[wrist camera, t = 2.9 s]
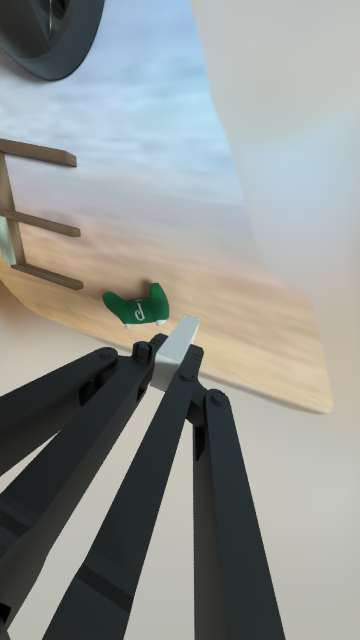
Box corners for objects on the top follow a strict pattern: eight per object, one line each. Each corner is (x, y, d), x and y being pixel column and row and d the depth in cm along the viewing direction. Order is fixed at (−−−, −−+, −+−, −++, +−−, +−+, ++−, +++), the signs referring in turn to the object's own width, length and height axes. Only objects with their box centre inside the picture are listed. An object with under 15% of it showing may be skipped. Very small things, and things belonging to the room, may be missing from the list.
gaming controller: (114, 288, 27) (127, 322, 29) (98, 295, 23) (113, 333, 25) (167, 277, 23) (177, 317, 26) (156, 283, 20) (169, 328, 22)
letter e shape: (-8, 140, 23) (-31, 130, 21) (76, 156, 21) (59, 147, 19) (20, 266, 31) (5, 268, 29) (83, 288, 28) (71, 291, 26)
